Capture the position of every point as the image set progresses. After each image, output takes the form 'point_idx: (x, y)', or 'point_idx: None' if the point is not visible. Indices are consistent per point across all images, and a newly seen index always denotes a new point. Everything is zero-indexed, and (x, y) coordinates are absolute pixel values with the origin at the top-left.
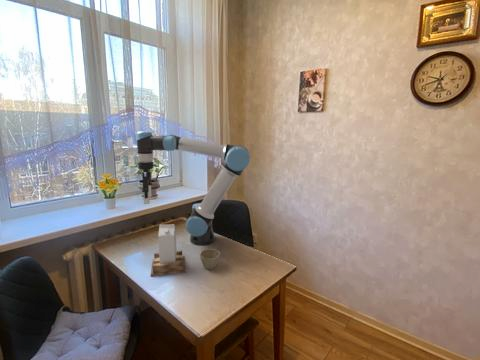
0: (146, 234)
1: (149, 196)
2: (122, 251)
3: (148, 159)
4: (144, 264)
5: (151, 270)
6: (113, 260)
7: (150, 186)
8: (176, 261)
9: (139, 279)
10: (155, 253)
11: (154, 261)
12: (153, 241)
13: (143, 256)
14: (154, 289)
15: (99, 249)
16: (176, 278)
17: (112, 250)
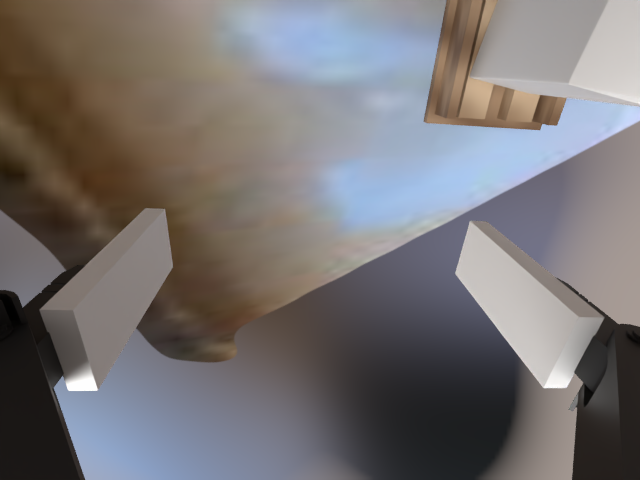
0: (129, 156)
1: (166, 234)
2: (298, 243)
3: None
4: (437, 154)
5: (514, 127)
6: (361, 262)
7: (85, 304)
8: None
9: (530, 167)
10: (449, 112)
11: (484, 116)
12: (225, 118)
13: (369, 161)
14: (619, 114)
15: (260, 316)
16: None
17: (280, 276)
